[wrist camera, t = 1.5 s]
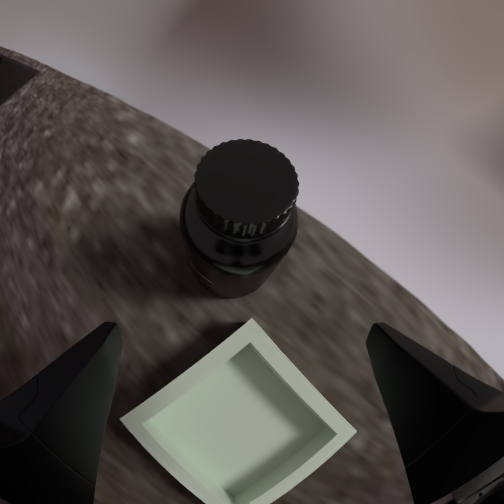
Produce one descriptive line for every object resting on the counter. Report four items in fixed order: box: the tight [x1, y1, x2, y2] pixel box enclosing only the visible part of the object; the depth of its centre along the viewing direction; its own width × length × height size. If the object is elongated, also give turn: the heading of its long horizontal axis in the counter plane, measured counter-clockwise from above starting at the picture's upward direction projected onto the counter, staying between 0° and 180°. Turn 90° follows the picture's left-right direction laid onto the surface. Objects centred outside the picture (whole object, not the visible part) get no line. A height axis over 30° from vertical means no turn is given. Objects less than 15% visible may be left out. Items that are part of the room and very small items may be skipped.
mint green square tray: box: [120, 318, 357, 504], centre depth 17 cm, size 12×12×3 cm
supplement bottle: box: [180, 139, 299, 298], centre depth 17 cm, size 7×7×12 cm
